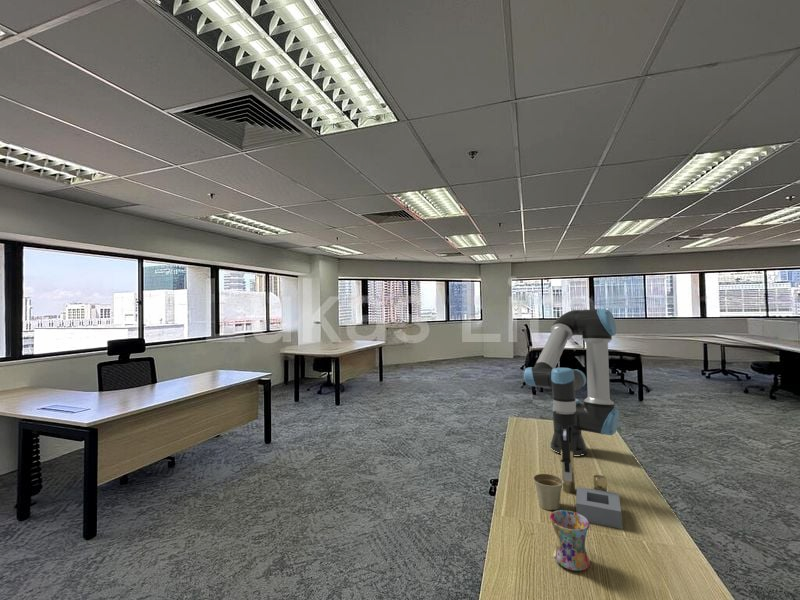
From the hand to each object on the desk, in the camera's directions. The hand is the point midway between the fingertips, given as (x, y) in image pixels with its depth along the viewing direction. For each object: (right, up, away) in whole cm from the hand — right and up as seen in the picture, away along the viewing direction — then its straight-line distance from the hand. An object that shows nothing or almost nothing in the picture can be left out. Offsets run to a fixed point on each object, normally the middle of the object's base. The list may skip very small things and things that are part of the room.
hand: (568, 477), depth 130 cm
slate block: (+2, -4, -16) cm, 16 cm away
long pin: (0, -5, 0) cm, 5 cm away
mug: (-16, -4, -36) cm, 39 cm away
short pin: (+10, -4, -4) cm, 11 cm away
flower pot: (-11, -5, -10) cm, 16 cm away
